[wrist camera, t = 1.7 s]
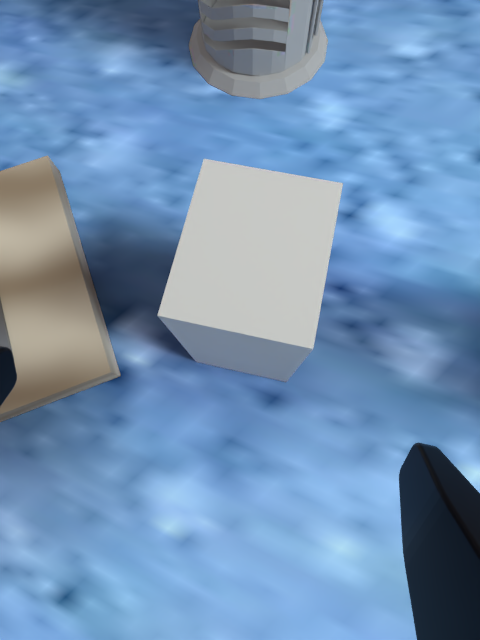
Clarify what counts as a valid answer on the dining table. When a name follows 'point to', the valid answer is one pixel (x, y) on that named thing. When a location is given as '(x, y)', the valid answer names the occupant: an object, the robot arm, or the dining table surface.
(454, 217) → the dining table surface
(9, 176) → the board
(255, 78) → the french press
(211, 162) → the block
